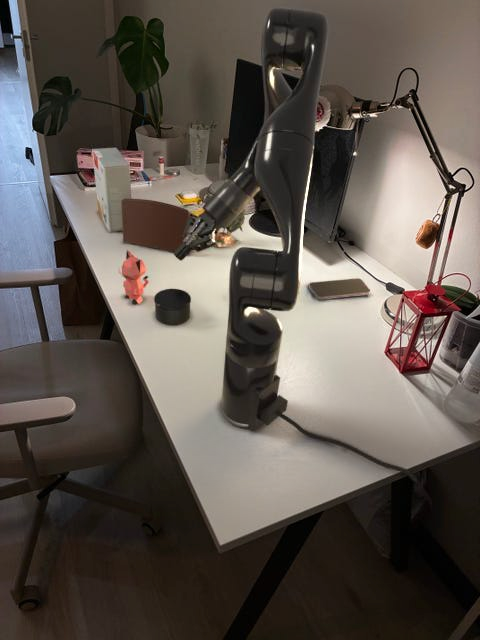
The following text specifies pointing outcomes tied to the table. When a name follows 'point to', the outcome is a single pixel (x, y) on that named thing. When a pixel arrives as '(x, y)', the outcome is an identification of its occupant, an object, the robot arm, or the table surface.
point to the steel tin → (172, 306)
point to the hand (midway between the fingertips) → (177, 257)
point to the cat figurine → (133, 278)
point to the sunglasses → (197, 211)
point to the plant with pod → (230, 231)
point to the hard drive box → (111, 185)
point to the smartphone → (339, 288)
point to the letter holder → (154, 224)
